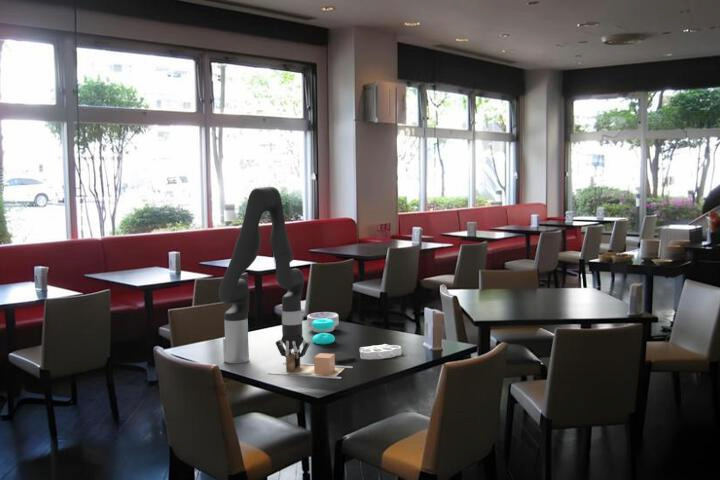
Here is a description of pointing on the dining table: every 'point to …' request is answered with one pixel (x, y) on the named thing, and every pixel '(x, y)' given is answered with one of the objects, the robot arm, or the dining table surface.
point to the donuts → (322, 325)
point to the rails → (311, 375)
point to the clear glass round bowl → (323, 316)
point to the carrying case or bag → (343, 358)
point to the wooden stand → (305, 368)
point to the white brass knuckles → (380, 351)
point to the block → (324, 363)
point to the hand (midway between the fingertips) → (293, 367)
